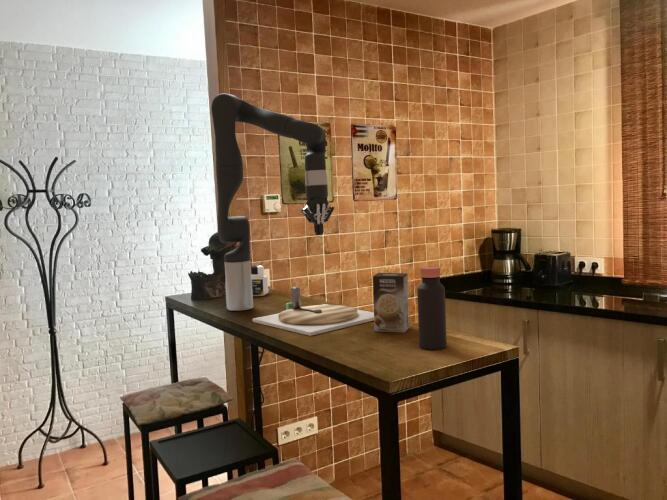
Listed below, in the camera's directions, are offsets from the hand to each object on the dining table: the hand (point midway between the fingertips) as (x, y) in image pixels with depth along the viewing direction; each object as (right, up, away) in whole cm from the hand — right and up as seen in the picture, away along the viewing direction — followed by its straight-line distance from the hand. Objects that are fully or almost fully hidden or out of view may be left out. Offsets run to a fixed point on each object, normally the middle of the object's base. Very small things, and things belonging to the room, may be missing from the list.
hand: (319, 235), depth 200 cm
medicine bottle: (-26, -24, +40) cm, 54 cm away
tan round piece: (0, -26, -15) cm, 30 cm away
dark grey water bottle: (+30, -30, -53) cm, 68 cm away
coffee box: (+22, -28, -33) cm, 48 cm away
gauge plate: (0, -27, -14) cm, 31 cm away
